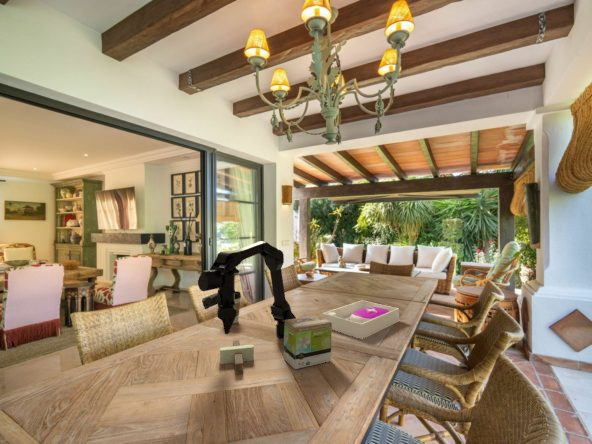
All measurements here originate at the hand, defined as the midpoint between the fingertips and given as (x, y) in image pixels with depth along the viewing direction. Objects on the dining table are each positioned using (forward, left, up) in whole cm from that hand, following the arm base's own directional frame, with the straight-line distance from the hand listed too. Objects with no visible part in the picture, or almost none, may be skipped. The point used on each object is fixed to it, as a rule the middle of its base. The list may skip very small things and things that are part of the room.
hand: (226, 329), depth 108 cm
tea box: (-29, +6, -12) cm, 32 cm away
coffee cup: (-4, -44, -12) cm, 46 cm away
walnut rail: (-4, 0, -12) cm, 12 cm away
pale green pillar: (-4, 0, -12) cm, 13 cm away
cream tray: (-67, -26, -13) cm, 73 cm away
